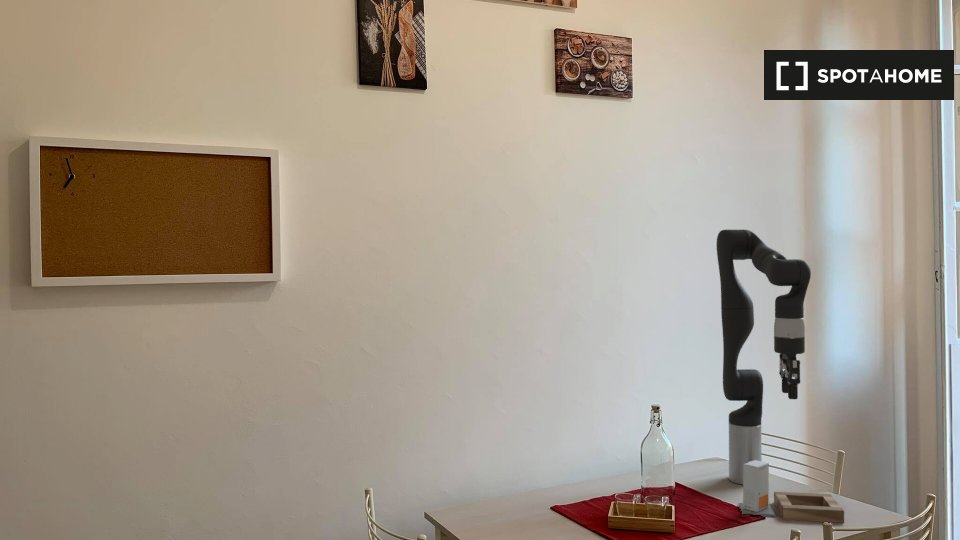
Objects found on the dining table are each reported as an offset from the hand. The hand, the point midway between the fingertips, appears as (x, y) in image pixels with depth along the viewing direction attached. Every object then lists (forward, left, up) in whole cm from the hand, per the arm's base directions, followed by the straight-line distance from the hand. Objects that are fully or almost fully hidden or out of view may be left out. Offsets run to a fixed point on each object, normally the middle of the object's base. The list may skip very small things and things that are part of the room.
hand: (789, 395), depth 203 cm
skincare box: (+3, -9, -30) cm, 31 cm away
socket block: (+2, +4, -30) cm, 30 cm away
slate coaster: (+3, -9, -30) cm, 32 cm away
